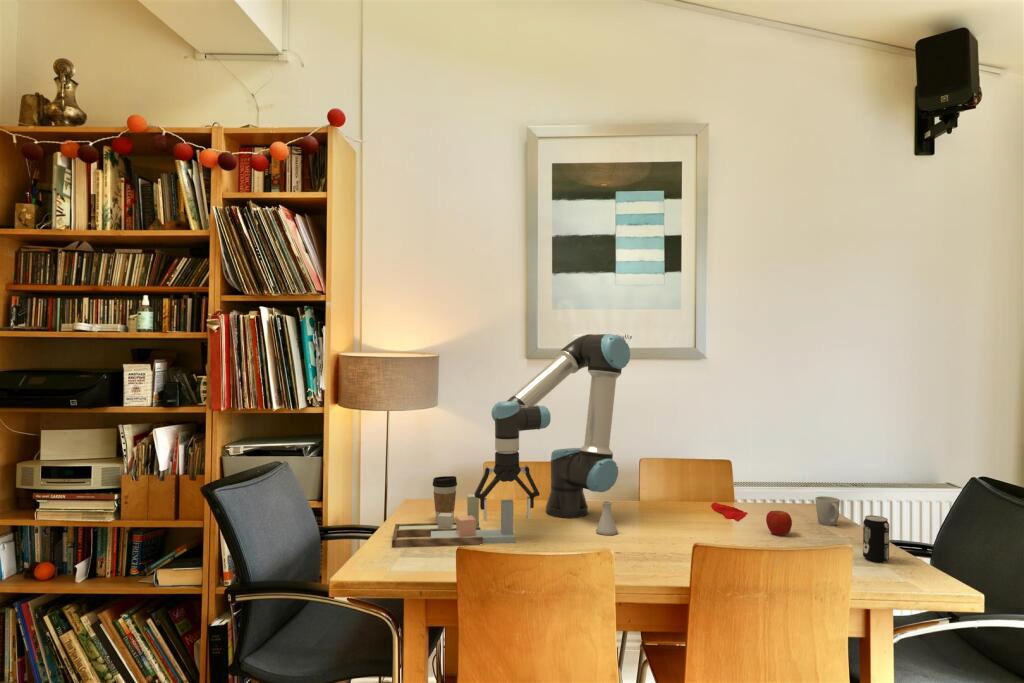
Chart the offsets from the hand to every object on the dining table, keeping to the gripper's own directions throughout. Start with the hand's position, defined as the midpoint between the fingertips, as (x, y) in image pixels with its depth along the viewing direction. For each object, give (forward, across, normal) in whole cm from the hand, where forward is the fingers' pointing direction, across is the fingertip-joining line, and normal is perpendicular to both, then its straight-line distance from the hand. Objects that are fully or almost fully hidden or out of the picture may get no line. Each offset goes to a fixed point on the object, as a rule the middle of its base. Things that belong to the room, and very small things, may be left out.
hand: (507, 519), depth 212 cm
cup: (+7, -111, -6) cm, 111 cm away
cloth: (+8, -84, -25) cm, 88 cm away
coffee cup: (+6, +19, -23) cm, 31 cm away
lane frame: (+6, +21, -3) cm, 22 cm away
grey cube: (+4, +19, -8) cm, 21 cm away
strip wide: (+6, +11, 0) cm, 12 cm away
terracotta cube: (+4, +13, 0) cm, 13 cm away
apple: (+7, -88, +3) cm, 88 cm away
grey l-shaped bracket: (+6, +21, -8) cm, 23 cm away
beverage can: (+7, -103, +30) cm, 107 cm away
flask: (+7, -33, -4) cm, 34 cm away
